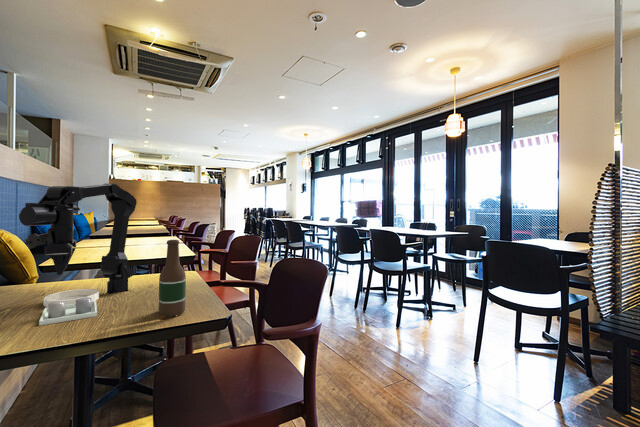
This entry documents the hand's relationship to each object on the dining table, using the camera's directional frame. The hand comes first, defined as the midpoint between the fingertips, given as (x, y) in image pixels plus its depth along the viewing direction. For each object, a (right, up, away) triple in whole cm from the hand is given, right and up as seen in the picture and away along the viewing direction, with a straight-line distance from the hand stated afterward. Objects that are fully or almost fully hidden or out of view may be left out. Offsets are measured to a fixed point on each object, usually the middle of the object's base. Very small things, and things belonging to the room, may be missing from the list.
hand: (61, 272), depth 97 cm
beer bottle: (+36, -14, 0) cm, 38 cm away
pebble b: (+4, -12, -6) cm, 14 cm away
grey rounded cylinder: (+9, -12, -2) cm, 15 cm away
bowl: (-4, -13, +9) cm, 16 cm away
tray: (+6, -13, -4) cm, 15 cm away
